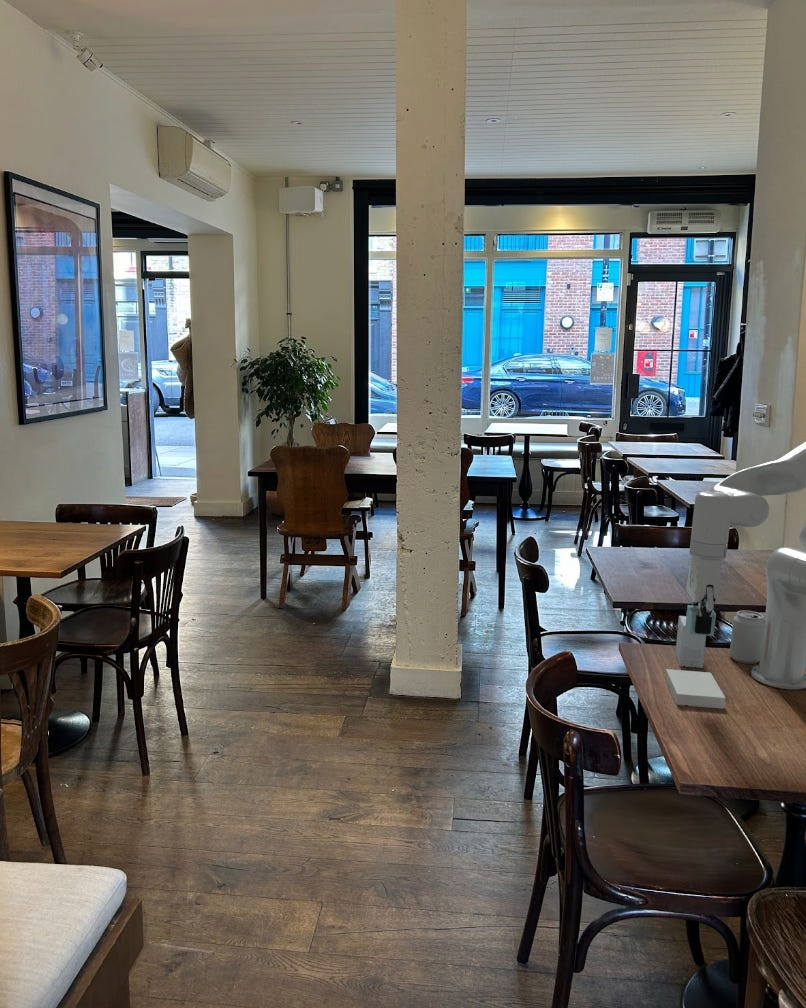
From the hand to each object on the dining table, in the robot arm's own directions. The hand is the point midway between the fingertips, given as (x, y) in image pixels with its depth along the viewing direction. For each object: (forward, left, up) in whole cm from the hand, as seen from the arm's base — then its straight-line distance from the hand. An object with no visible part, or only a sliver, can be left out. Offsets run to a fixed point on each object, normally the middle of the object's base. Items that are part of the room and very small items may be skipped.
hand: (699, 628), depth 180 cm
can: (-29, -7, -16) cm, 34 cm away
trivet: (0, 0, -15) cm, 15 cm away
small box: (-15, -13, -16) cm, 25 cm away
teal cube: (0, 0, -1) cm, 1 cm away
